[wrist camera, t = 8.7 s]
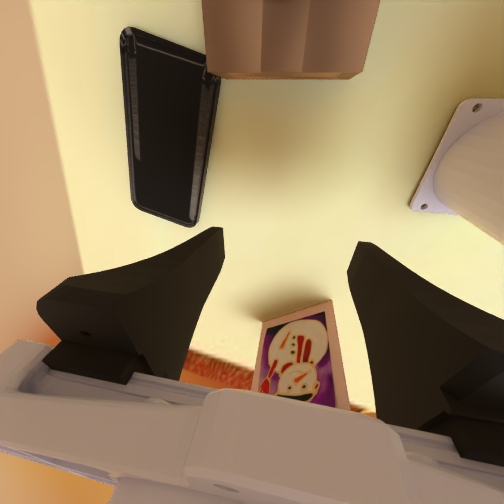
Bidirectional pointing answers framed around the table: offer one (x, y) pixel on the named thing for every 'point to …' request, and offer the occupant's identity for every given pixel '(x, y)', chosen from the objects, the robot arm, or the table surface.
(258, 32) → the box
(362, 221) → the table surface
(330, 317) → the greeting card
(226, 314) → the table surface
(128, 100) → the phone
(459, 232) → the table surface
